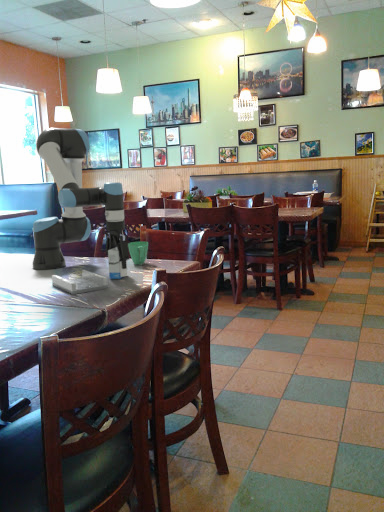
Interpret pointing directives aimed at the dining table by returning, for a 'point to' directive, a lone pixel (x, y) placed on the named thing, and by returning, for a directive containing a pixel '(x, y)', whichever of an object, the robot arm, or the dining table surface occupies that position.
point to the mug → (138, 251)
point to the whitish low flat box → (81, 283)
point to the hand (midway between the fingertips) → (118, 274)
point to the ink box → (114, 263)
